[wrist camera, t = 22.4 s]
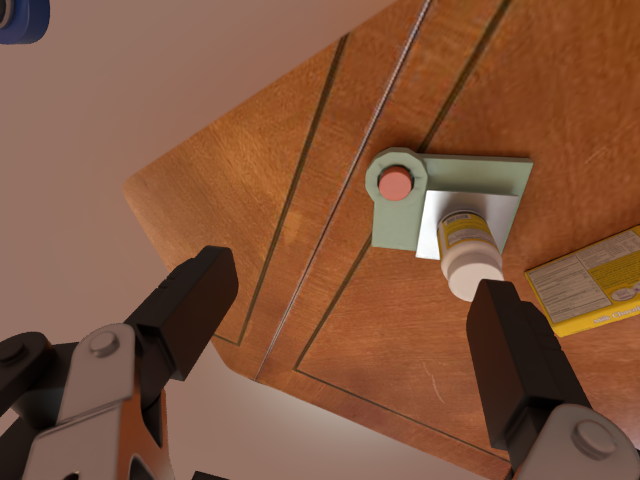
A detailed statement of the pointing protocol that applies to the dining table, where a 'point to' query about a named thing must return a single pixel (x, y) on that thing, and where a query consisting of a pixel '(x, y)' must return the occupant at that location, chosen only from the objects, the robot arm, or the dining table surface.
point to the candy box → (590, 284)
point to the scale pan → (444, 202)
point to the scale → (436, 188)
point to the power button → (395, 183)
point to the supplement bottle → (467, 252)
